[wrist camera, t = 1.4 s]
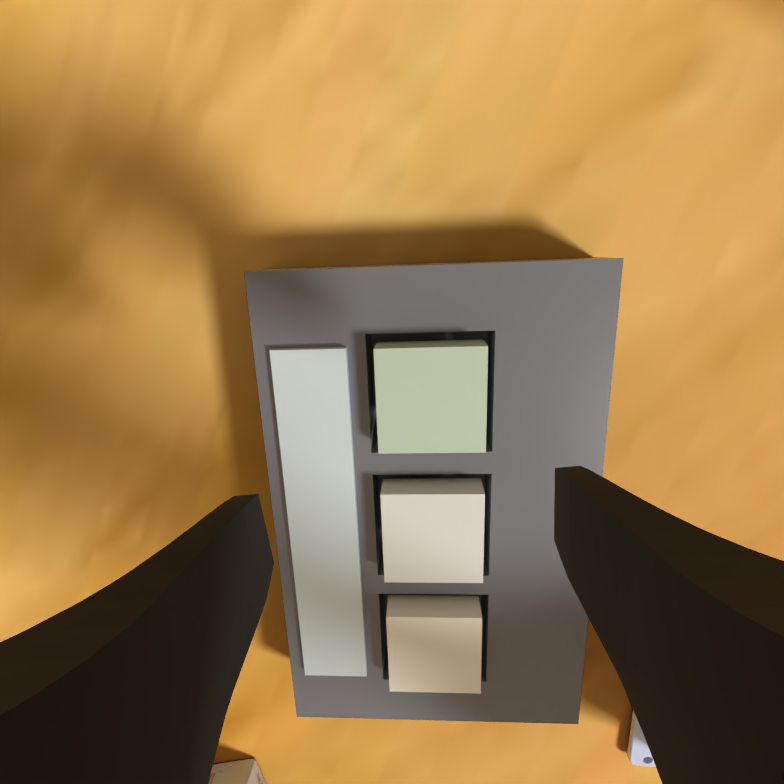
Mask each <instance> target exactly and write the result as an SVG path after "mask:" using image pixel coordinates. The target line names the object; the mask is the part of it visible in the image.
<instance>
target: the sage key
mask: <svg viewBox="0 0 784 784" xmlns="http://www.w3.org/2000/svg"><path fill="white" fill-rule="evenodd" d="M373 350H374V371H375V392H376V413H377V435H378V454H393V453H486V424H487V378H488V345H487V344H486V342H485V341H484V340H483V339H477V340H438V341H398V342H377V343H376V345H375V347H374V349H373Z"/></svg>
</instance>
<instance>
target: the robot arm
mask: <svg viewBox="0 0 784 784" xmlns="http://www.w3.org/2000/svg"><path fill="white" fill-rule="evenodd" d="M554 541H555V544H556V547H557V550H558V553H559V556H560V558H561V561H562V564H563V566H564V569H565V572H566V574H567V577H568V579H569V581H570V583H571V585H572V587H573V589H574V591H575V593H576V595H577V597H578V599H579V600H580V602H581V604H582V606H583V608H584V610H585V612H586V614H587V616H588V618H589V620H590V621H591V623H592V625H593V627H594V629H595V631H596V633H597V635H598V637H599V638H600V640H601V642H602V644H603V646H604V648H605V650H606V652H607V654H608V656H609V657H610V659H611V661H612V663H613V665H614V667H615V669H616V671H617V673H618V675H619V678H620V680H621V682H622V684H623V686H624V688H625V691H626V693H627V696H628V698H629V700H630V703H631V705H632V708H633V715H632V722H631V729H630V737H629V744H628V751H627V756H628V758H629V761H630V762H631V764H633V765H636V766H656V768H657V770H658V773H659V776H660V778H661V781H662V783H663V784H784V561H782V560H779V559H776V558H773V557H770V556H767V555H764V554H762V553H759V552H756V551H753V550H751V549H748V548H746V547H743V546H741V545H738V544H736V543H733V542H731V541H728V540H726V539H724V538H721V537H719V536H716V535H714V534H711V533H709V532H707V531H705V530H702V529H700V528H698V527H696V526H694V525H692V524H690V523H688V522H686V521H683V520H681V519H679V518H677V517H675V516H673V515H671V514H669V513H667V512H665V511H663V510H661V509H659V508H657V507H656V506H654V505H652V504H650V503H648V502H646V501H644V500H642V499H641V498H639V497H637V496H635V495H633V494H632V493H630V492H628V491H626V490H625V489H623V488H621V487H619V486H617V485H616V484H614V483H612V482H610V481H609V480H607V479H605V478H603V477H602V476H600V475H598V474H596V473H594V472H593V471H591V470H589V469H587V468H585V467H582V466H572V467H561V468H555V496H554ZM273 564H274V562H273V557H272V553H271V548H270V544H269V540H268V535H267V531H266V526H265V522H264V517H263V513H262V509H261V504H260V500H259V495H258V494H254V495H242V496H234V497H232V498H230V499H229V500H227V501H226V502H224V503H223V504H221V505H220V506H219V507H217V508H216V509H215V510H213V511H212V512H211V513H209V514H208V515H207V516H205V517H204V518H203V519H201V520H200V521H199V522H198V523H196V524H195V525H194V526H192V527H191V528H190V529H188V530H187V531H186V532H184V533H183V534H182V535H180V536H179V537H178V538H177V539H175V540H174V541H173V542H171V543H170V544H168V545H167V546H166V547H164V548H163V549H161V550H160V551H159V552H157V553H156V554H154V555H153V556H151V557H150V558H149V559H147V560H146V561H144V562H143V563H142V564H140V565H139V566H137V567H136V568H134V569H133V570H131V571H130V572H128V573H127V574H125V575H124V576H122V577H121V578H119V579H118V580H116V581H114V582H113V583H111V584H110V585H108V586H106V587H105V588H103V589H101V590H100V591H98V592H96V593H95V594H93V595H91V596H89V597H88V598H86V599H84V600H83V601H81V602H79V603H77V604H75V605H74V606H72V607H70V608H68V609H66V610H64V611H62V612H60V613H58V614H56V615H54V616H52V617H51V618H49V619H47V620H45V621H43V622H41V623H39V624H37V625H35V626H33V627H31V628H30V629H28V630H26V631H24V632H21V633H19V634H17V635H15V636H13V637H11V638H9V639H7V640H4V641H2V642H0V784H208V782H209V778H210V774H211V770H212V766H213V761H214V758H215V754H216V750H217V746H218V742H219V738H220V734H221V731H222V727H223V723H224V719H225V715H226V712H227V709H228V706H229V702H230V699H231V696H232V693H233V690H234V687H235V685H236V682H237V679H238V677H239V674H240V671H241V668H242V666H243V663H244V660H245V657H246V655H247V652H248V649H249V646H250V644H251V641H252V638H253V636H254V633H255V630H256V627H257V624H258V622H259V619H260V616H261V613H262V610H263V607H264V604H265V602H266V597H267V593H268V589H269V584H270V579H271V574H272V569H273Z"/></svg>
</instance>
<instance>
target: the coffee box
mask: <svg viewBox="0 0 784 784" xmlns="http://www.w3.org/2000/svg"><path fill="white" fill-rule="evenodd" d="M208 784H266V782H265V780H264V778H263V775H262V773H261V771H260V769H259V767H258V764H257V762H256V760H255V759H245V760H239V761H232V762H226V763H220V764H213V766H212V770H211V774H210V778H209V782H208Z"/></svg>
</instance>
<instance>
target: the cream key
mask: <svg viewBox="0 0 784 784" xmlns="http://www.w3.org/2000/svg"><path fill="white" fill-rule="evenodd" d="M386 625H387V646H388V667H389V688H390V692H432V693H477V694H481V658H482V613H481V607H480V601H479V596H439V595H388V602H387V613H386Z"/></svg>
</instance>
